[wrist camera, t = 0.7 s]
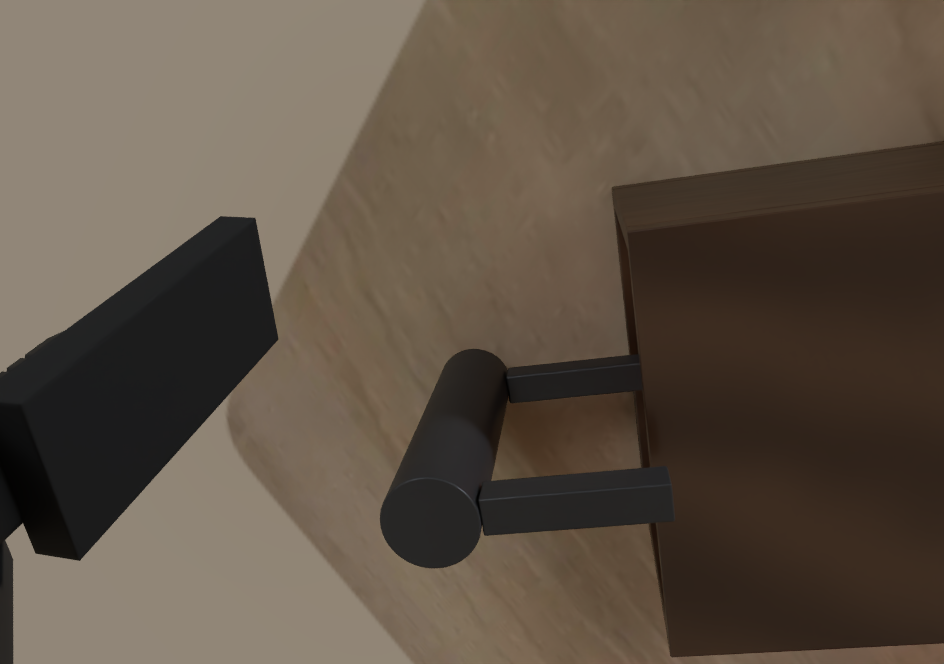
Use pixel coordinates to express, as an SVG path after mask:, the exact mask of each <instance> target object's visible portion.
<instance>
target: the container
mask: <svg viewBox="0 0 944 664" xmlns="http://www.w3.org/2000/svg"><path fill="white" fill-rule="evenodd" d="M639 390H642V383H641V373H640V364H639V354H635V355H626V356H616V357H607V358H597V359H588V360H579V361H569V362H560V363H551V364H541V365H532V366H522V367H513V368H509V369H508V370H507V368H506V366H505V365H504V363H503V362H502V361H501V360H500V359H499V358H498V357H497V356H495V355H494V354H492V353H490V352H488V351H485V350H480V349H469V350H464V351H461V352H459V353H457V354H455V355H454V356H453V357H451V358H450V359H449V360H448V362H447V363H446V364H445V366H444V368H443V370H442V373H441V375H440V377H439V379H438V382H437V384H436V386H435V388H434V391H433V393H432V395H431V397H430V399H429V402H428V404H427V406H426V408H425V411H424V413H423V415H422V417H421V420H420V422H419V424H418V426H417V429H416V431H415V433H414V435H413V437H412V440H411V442H410V444H409V446H408V449H407V451H406V453H405V455H404V458H403V460H402V462H401V464H400V467H399V469H398V471H397V473H396V475H395V478H394V480H393V482H392V484H391V487H390V489H389V491H388V493H387V496H386V498H385V500H384V502H383V505H382V508H381V513H380V525H381V530H382V533H383V535H384V538H385V540H386V542H387V543H388V545H389V546H390V547H391V549H392V550H393V551H394V552H395V553H396V554H397V555H398V556H400V557H401V558H402V559H404V560H406V561H407V562H409V563H412V564H414V565H417V566H420V567H425V568H444V567H448V566H451V565H454V564H456V563H458V562H460V561H462V560H463V559H465V558H466V557H467V556H468V555H469V554H470V553H471V552H472V551H473V549H474V548H475V547H476V545H477V543H478V540H479V538H480V533H481V528H482V526H483V532H484V535H485V536H489V535H502V534H515V533H528V532H541V531H555V530H568V529H581V528H594V527H607V526H621V525H634V524H647V523H660V522H673V521H675V513H674V502H673V492H672V484H671V480H670V475H669V471H668V468H667V466H660V467H649V468H637V469H625V470H614V471H602V472H590V473H579V474H567V475H556V476H544V477H532V478H521V479H509V480H497V481H491V479H492V474H493V469H494V465H495V460H496V455H497V450H498V445H499V440H500V435H501V430H502V425H503V420H504V416H505V411H506V406H507V401H508V396H509V401H510V403H520V402H530V401H540V400H550V399H560V398H570V397H580V396H590V395H600V394H610V393H620V392H630V391H639Z"/></svg>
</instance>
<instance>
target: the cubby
mask: <svg viewBox="0 0 944 664" xmlns="http://www.w3.org/2000/svg"><path fill="white" fill-rule="evenodd" d="M612 196H613V205H614V215H615V224H616V234H617V243H618V253H619V262H620V271H621V281H622V290H623V300H624V309H625V319H626V328H627V338H628V347H629V355H635V354H639V364H640V373H641V383H642V390H639V391H633V394H634V404H635V413H636V423H637V432H638V441H639V451H640V460H641V468H649V467H660V466H667V468H668V471H669V475H670V480H671V484H672V492H673V502H674V513H675V521H673V522H660V523H648V525H649V531H650V537H651V543H652V549H653V555H654V561H655V567H656V573H657V579H658V585H659V591H660V597H661V602H662V608H663V614H664V620H665V626H666V632H667V638H668V644H669V650H670V656H671V657H685V656H704V655H724V654H743V653H763V652H782V651H802V650H821V649H841V648H860V647H880V646H899V645H919V644H939V643H944V141H942V142H934V143H927V144H920V145H913V146H905V147H898V148H891V149H884V150H876V151H869V152H862V153H855V154H847V155H840V156H833V157H826V158H818V159H811V160H804V161H797V162H789V163H782V164H775V165H768V166H760V167H753V168H746V169H739V170H731V171H724V172H717V173H710V174H702V175H695V176H688V177H681V178H673V179H666V180H659V181H652V182H644V183H637V184H630V185H623V186H615V187H612Z"/></svg>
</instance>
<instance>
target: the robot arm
mask: <svg viewBox="0 0 944 664" xmlns="http://www.w3.org/2000/svg"><path fill="white" fill-rule="evenodd" d="M277 340H278V334H277V329H276V324H275V319H274V313H273V308H272V303H271V298H270V293H269V287H268V282H267V277H266V272H265V266H264V261H263V256H262V251H261V245H260V240H259V235H258V230H257V225H256V219H255V218H244V217H222V216H221V217H219V218H218V219H216V220H215V221H214V222H212V223H211V224H210V225H208V226H207V227H205V228H204V229H203V230H201V231H200V232H199V233H197V234H196V235H195V236H193V237H192V238H191V239H189V240H188V241H186V242H185V243H184V244H182V245H181V246H180V247H178V248H177V249H176V250H174V251H173V252H172V253H170V254H169V255H167V256H166V257H165V258H163V259H162V260H161V261H159V262H158V263H156V264H155V265H154V266H152V267H151V268H150V269H148V270H147V271H146V272H144V273H143V274H141V275H140V276H139V277H137V278H136V279H135V280H133V281H132V282H131V283H129V284H128V285H126V286H125V287H124V288H122V289H121V290H120V291H118V292H117V293H116V294H114V295H113V296H111V297H110V298H109V299H107V300H106V301H105V302H103V303H102V304H101V305H99V306H98V307H97V308H95V309H94V310H93V311H91V312H90V313H88V314H87V315H86V316H84V317H83V318H82V319H80V320H79V321H77V322H76V323H75V324H73V325H72V326H71V327H69V328H68V329H67V330H65V331H63V332H61V333H59V334H56V335H54V336H52V337H50V338H48V339H46V340H45V341H44V342H43V343H41V344H39V345H38V346H37V347H35V348H34V349H33V350H31V351H30V352H28V353H27V354H26V355H25V358H20V359H19V360H17V361H16V362H15V363H13V364H12V365H11V366H9V367H8V368H7V372H1V373H0V664H13V558H12V556H11V553H10V551H9V548H8V546H7V544H6V541H5V539H6V538H7V537H8V536H9V535H11V534H12V533H13V531H15V530H16V529H17V528H18V527H19V526H20V525H21V524H22V523H23V524H24V526H25V529H26V531H27V533H28V536H29V539H30V541H31V543H32V546H33V548H34V551H35V553H36V554H42V555H48V556H54V557H60V558H67V559H73V560H79V561H80V560H81V559H82V558H83V556H84V555H85V554H86V553H87V552H88V551H89V550H90V549H91V547H92V546H93V545H94V544H95V543H96V542H97V541H98V540H99V539H100V537H101V536H102V535H103V534H104V533H105V532H106V531H107V530H108V529H109V528H110V526H111V525H112V524H113V523H114V522H115V521H116V520H117V519H118V517H119V516H120V515H121V514H122V513H123V512H124V511H125V510H126V509H127V507H128V506H129V505H130V504H131V503H132V502H133V501H134V500H135V499H136V497H137V496H138V495H139V494H140V493H141V492H142V491H143V490H144V489H145V487H146V486H147V485H148V484H149V483H150V482H151V480H152V479H153V478H154V477H155V476H156V475H157V474H158V473H159V472H160V471H161V470H162V468H163V467H164V466H165V465H166V464H167V463H168V462H169V461H170V459H171V458H172V457H173V456H174V455H175V454H176V453H177V452H178V451H179V449H180V448H181V447H182V446H183V445H184V444H185V443H186V442H187V440H188V439H189V438H190V437H191V436H192V435H193V434H194V433H195V432H196V431H197V429H198V428H199V427H200V426H201V425H202V424H203V423H204V422H205V420H206V419H207V418H208V417H209V416H210V415H211V414H212V413H213V412H214V410H215V409H216V408H217V407H218V406H219V405H220V404H221V403H222V402H223V400H224V399H225V398H226V397H227V396H228V395H229V394H230V393H231V392H232V390H233V389H234V388H235V387H236V386H237V385H238V384H239V383H240V382H241V380H242V379H243V378H244V377H245V376H246V375H247V374H248V373H249V371H250V370H251V369H252V368H253V367H254V366H255V365H256V364H257V363H258V361H259V360H260V359H261V358H262V357H263V356H264V355H265V354H266V353H267V351H268V350H269V349H270V348H271V347H272V346H273V345H274V344H275V343H276V341H277Z"/></svg>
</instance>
